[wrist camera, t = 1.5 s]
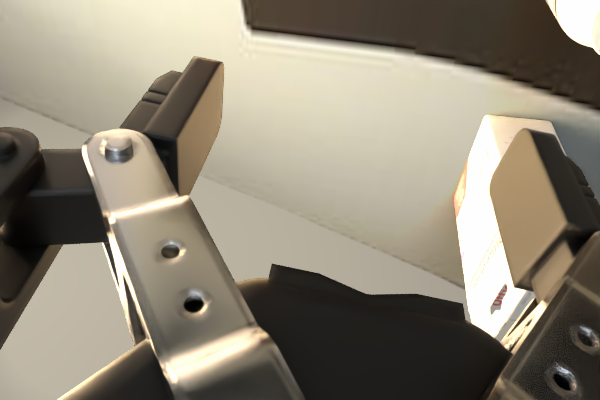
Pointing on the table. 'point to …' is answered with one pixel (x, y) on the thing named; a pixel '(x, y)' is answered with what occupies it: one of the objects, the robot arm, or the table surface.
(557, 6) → the pill bottle
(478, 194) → the ink cartridge box
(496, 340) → the robot arm
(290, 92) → the table surface
